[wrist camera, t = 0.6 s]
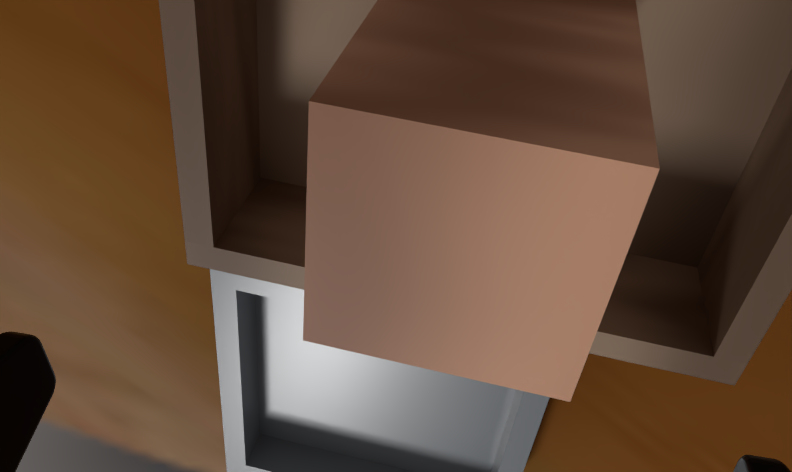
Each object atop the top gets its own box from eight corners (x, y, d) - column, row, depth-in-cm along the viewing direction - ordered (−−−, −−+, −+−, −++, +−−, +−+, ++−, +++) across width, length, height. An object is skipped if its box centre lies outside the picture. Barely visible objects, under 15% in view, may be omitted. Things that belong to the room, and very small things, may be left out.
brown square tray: (1031, -355, 12) (1182, -369, 9) (713, 283, 21) (734, 385, 18) (215, -444, 14) (106, -483, 11) (242, 185, 23) (187, 263, 20)
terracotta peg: (625, -71, 16) (660, 168, 8) (578, 95, 18) (570, 401, 10) (444, -99, 16) (309, 101, 8) (423, 66, 19) (302, 340, 11)
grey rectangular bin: (570, 287, 22) (568, 344, 21) (504, 484, 29) (498, 541, 27) (240, 217, 24) (209, 264, 22) (250, 421, 30) (227, 472, 28)
